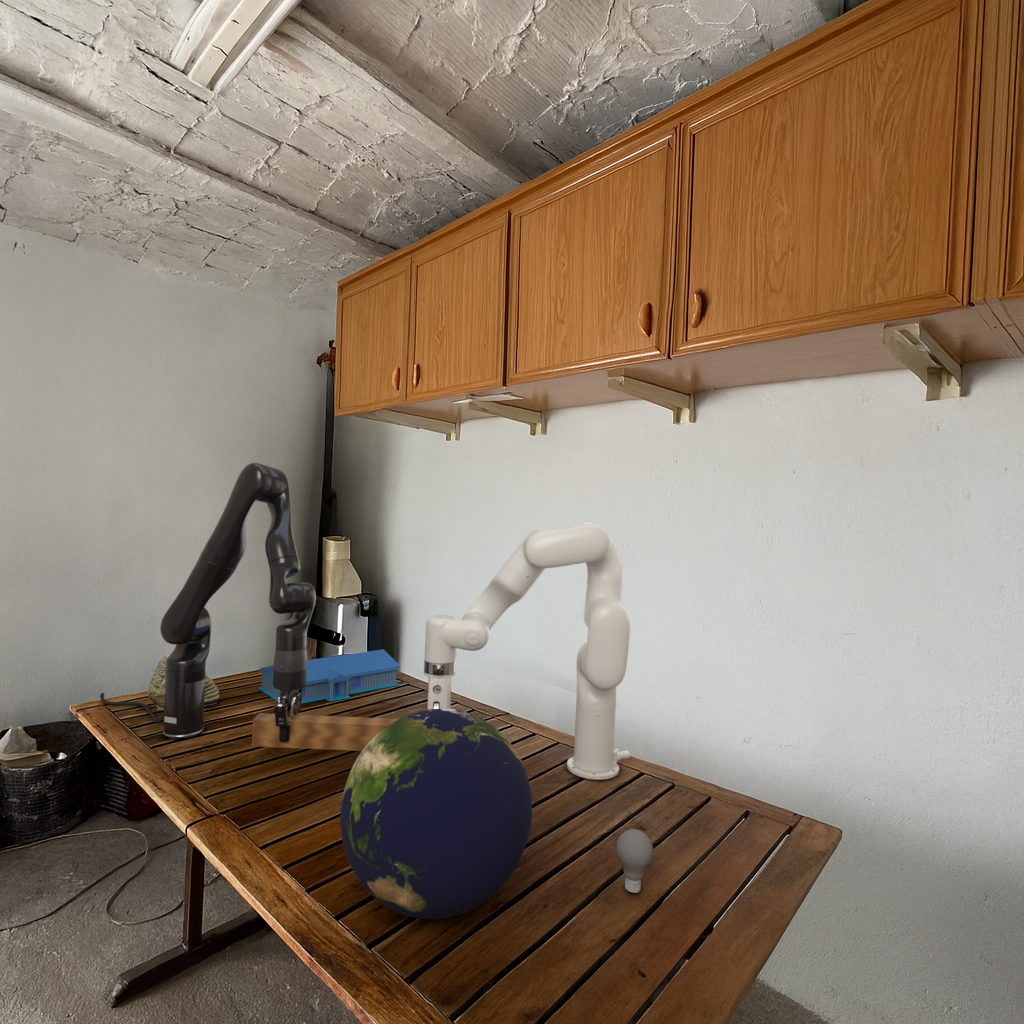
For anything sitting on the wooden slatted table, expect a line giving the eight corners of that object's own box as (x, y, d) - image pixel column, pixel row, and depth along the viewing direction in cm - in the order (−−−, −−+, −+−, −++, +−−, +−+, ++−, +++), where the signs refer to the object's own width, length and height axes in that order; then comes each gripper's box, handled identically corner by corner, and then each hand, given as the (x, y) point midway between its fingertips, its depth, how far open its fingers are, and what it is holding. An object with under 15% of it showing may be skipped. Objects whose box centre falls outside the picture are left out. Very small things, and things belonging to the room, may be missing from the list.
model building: (289, 709, 186) (291, 675, 185) (258, 688, 204) (259, 657, 204) (403, 687, 212) (405, 657, 212) (366, 670, 230) (368, 643, 230)
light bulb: (610, 879, 108) (613, 822, 108) (644, 879, 109) (647, 822, 109) (619, 902, 102) (622, 840, 102) (655, 901, 103) (658, 840, 103)
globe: (293, 930, 92) (301, 726, 92) (403, 834, 120) (409, 676, 120) (479, 999, 81) (489, 767, 81) (552, 875, 109) (560, 702, 108)
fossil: (144, 707, 182) (145, 655, 182) (212, 696, 194) (213, 647, 194) (151, 716, 175) (153, 662, 175) (221, 703, 188) (223, 653, 188)
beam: (251, 746, 149) (252, 719, 149) (258, 739, 153) (259, 712, 153) (468, 755, 150) (469, 728, 150) (468, 748, 154) (470, 721, 154)
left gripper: (296, 675, 144) (294, 750, 144) (314, 659, 158) (312, 727, 158) (263, 674, 144) (260, 749, 144) (284, 658, 158) (282, 726, 158)
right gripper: (453, 678, 143) (449, 758, 144) (457, 659, 160) (454, 730, 161) (419, 676, 143) (416, 756, 144) (428, 658, 160) (424, 729, 160)
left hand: (287, 737), depth 151 cm, fingers closed on beam, 4 cm apart
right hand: (436, 742), depth 152 cm, fingers closed on beam, 4 cm apart
